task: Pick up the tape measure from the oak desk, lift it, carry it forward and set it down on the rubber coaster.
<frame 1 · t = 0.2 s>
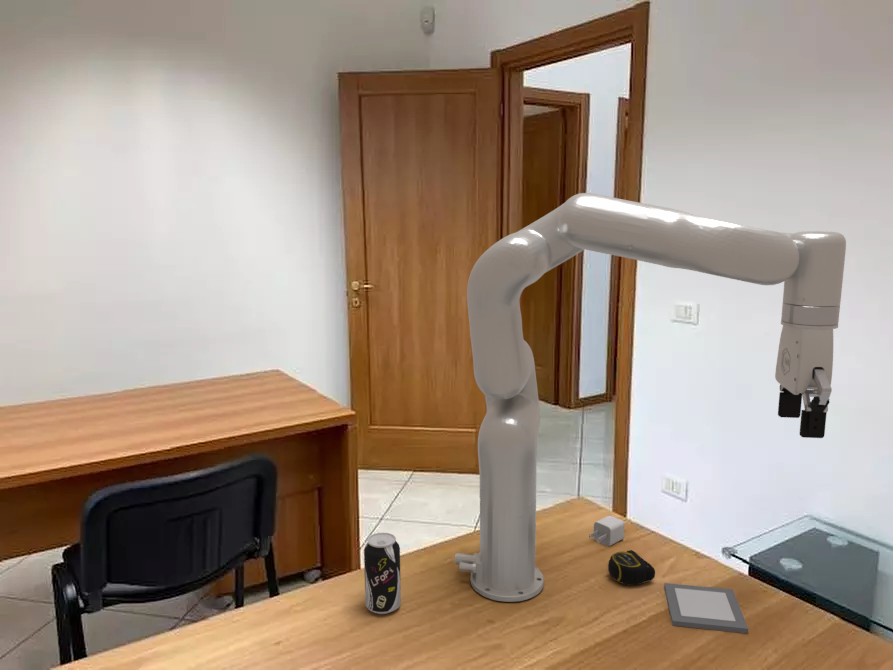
hand: (799, 426, 103), 31 cm above the table, fingers open, 9 cm apart
beverage can: (383, 608, 110), on the table
usb wall charger: (604, 543, 131), on the table
tape measure: (630, 578, 119), on the table
coaster: (703, 609, 109), on the table
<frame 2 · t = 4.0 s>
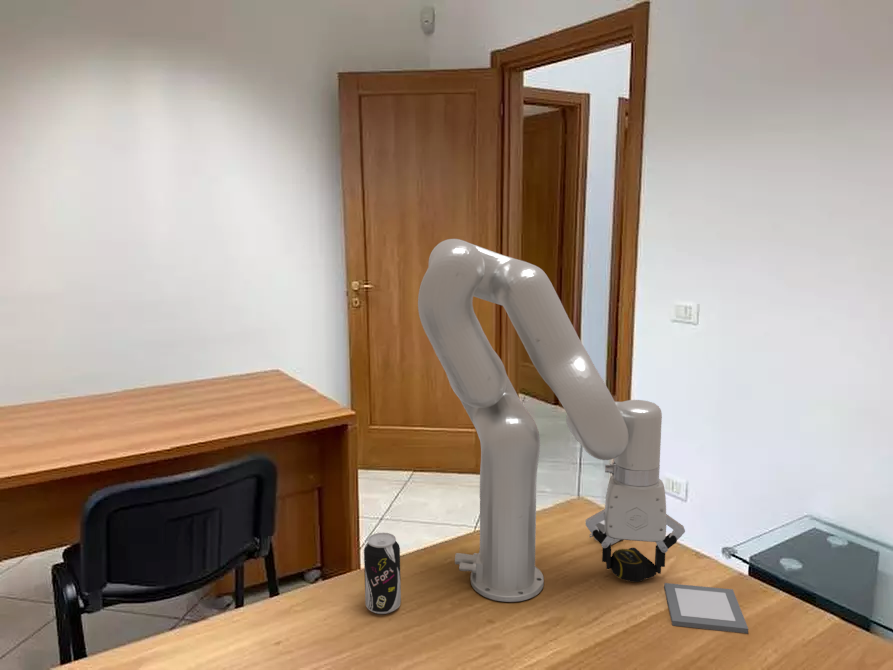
hand: (632, 567, 119), 2 cm above the table, fingers closed on tape measure, 7 cm apart
tape measure: (632, 575, 120), on the table, touching gripper
everything else where it was.
when the fingers open (3 cm above the table, at t = 10.7 s): tape measure stays where it is, resting on coaster.
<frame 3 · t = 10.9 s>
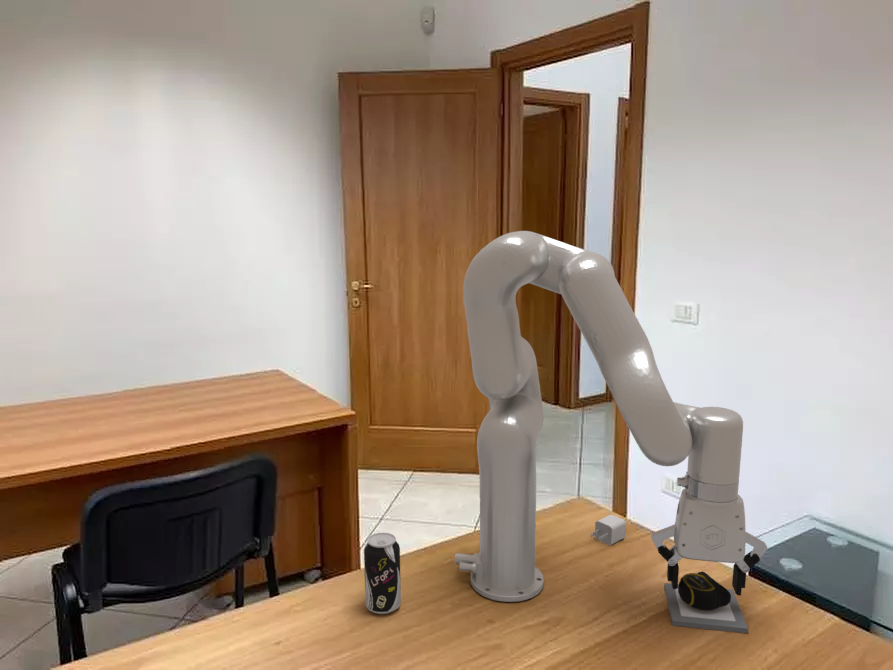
hand: (704, 587, 109), 4 cm above the table, fingers open, 9 cm apart
tape measure: (702, 602, 110), point 1 cm above the table, touching coaster
everything else where it was.
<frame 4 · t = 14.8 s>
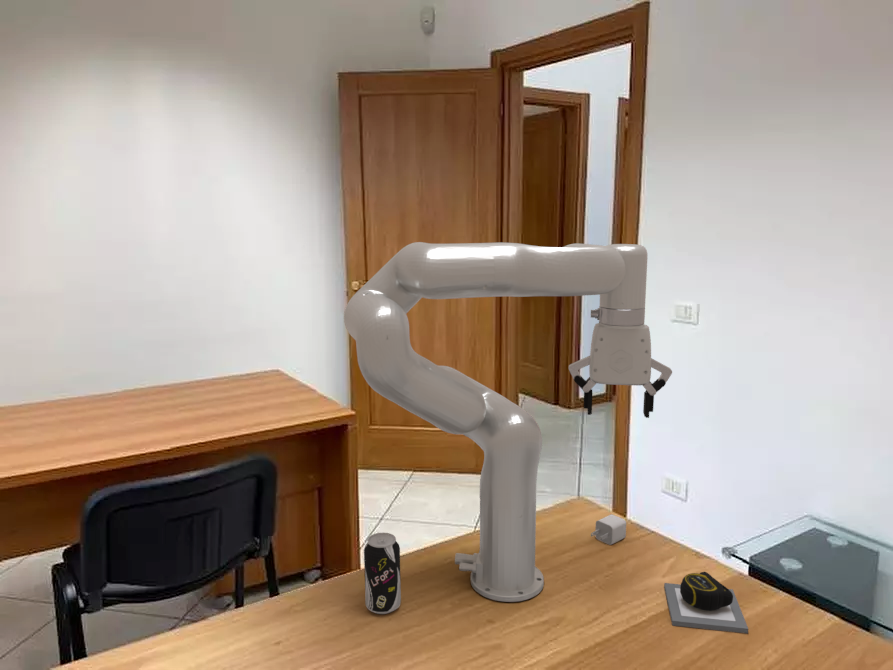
hand: (617, 414, 118), 28 cm above the table, fingers open, 9 cm apart
nothing on the table moved.
at the end: tape measure inside the target area on the coaster (0.9 cm from its centre), point 0.7 cm above the coaster's base; the gripper is holding nothing; tape measure moved 13.4 cm from its start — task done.
